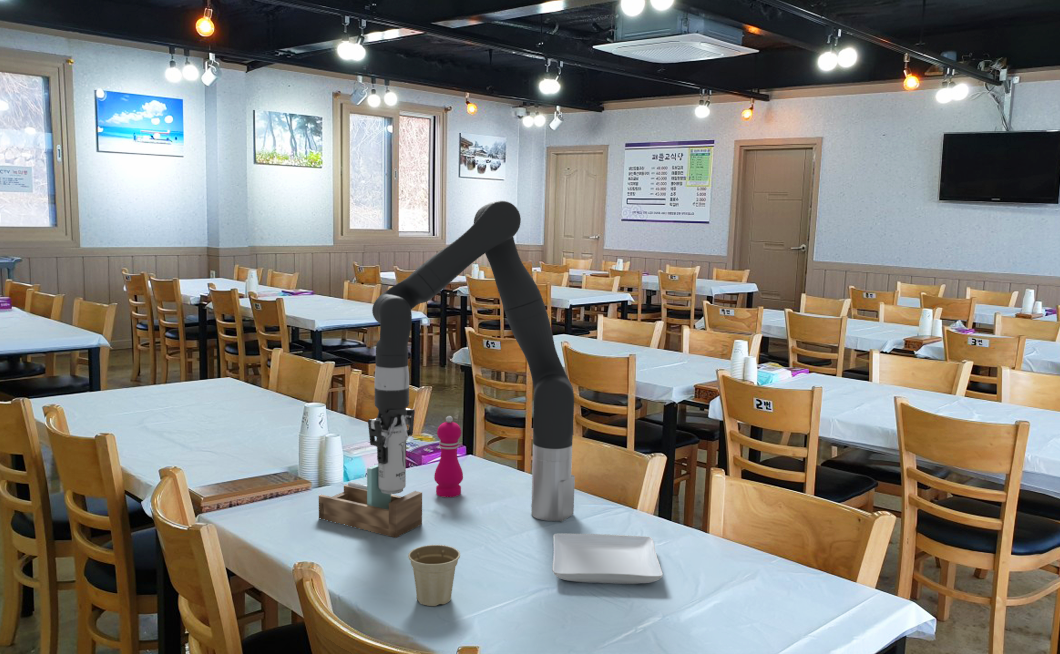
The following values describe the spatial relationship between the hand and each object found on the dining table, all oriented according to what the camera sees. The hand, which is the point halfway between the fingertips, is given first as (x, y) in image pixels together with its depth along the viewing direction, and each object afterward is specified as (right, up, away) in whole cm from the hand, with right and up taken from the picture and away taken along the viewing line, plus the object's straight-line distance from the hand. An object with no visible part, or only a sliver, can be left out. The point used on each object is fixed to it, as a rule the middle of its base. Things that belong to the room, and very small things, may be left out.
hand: (392, 459), depth 190 cm
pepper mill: (+10, -13, +26) cm, 31 cm away
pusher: (-7, -13, +5) cm, 16 cm away
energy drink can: (0, -7, +1) cm, 7 cm away
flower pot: (+13, -21, -33) cm, 41 cm away
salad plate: (+46, -20, -17) cm, 53 cm away
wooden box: (-6, -15, +5) cm, 17 cm away
